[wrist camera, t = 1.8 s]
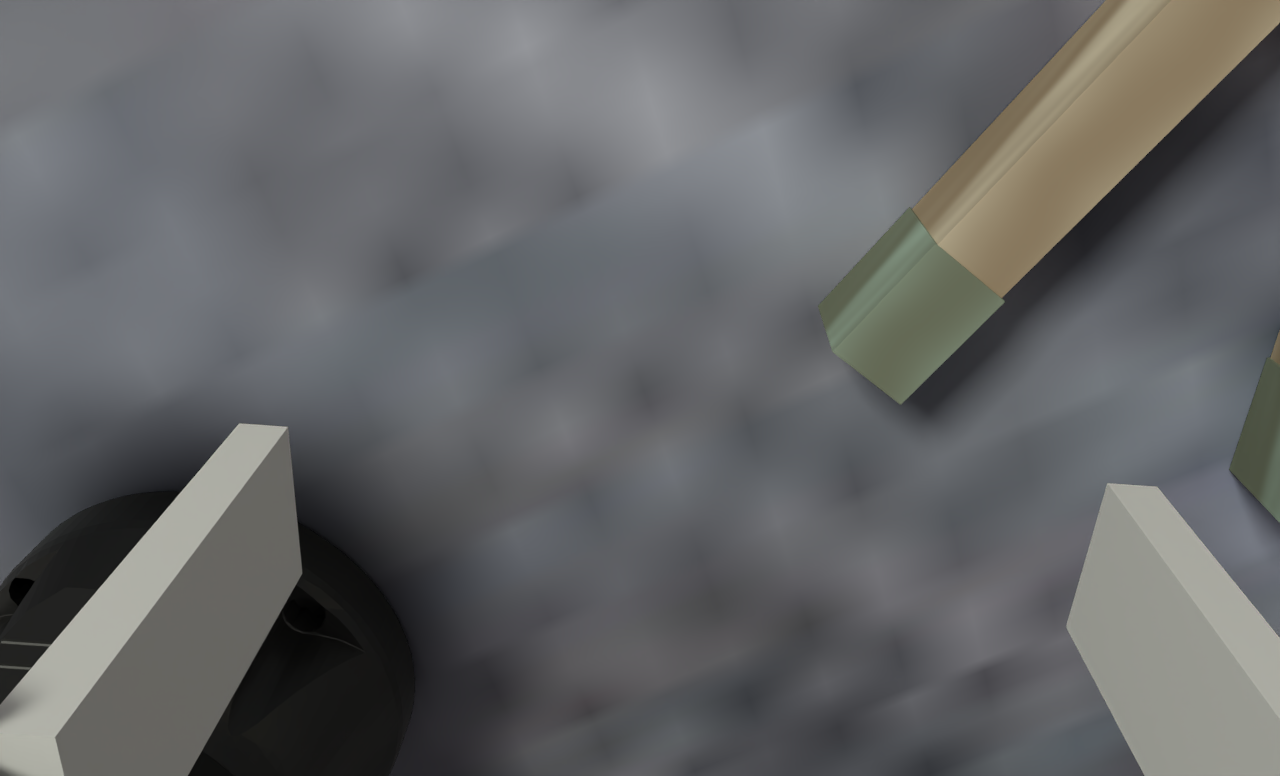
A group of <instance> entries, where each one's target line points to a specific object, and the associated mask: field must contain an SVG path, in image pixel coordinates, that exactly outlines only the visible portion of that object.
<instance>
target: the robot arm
mask: <svg viewBox="0 0 1280 776" xmlns="http://www.w3.org/2000/svg"><path fill="white" fill-rule="evenodd" d="M1066 628H1067V630H1068V632H1069V634H1070V636H1071V637H1072V639H1073V641H1074V643H1075V645H1076V647H1077V649H1078V651H1079V653H1080V654H1081V656H1082V658H1083V660H1084V662H1085V664H1086V666H1087V668H1088V670H1089V672H1090V673H1091V675H1092V677H1093V679H1094V681H1095V683H1096V685H1097V687H1098V689H1099V690H1100V692H1101V694H1102V696H1103V698H1104V700H1105V702H1106V704H1107V706H1108V707H1109V709H1110V711H1111V713H1112V715H1113V717H1114V719H1115V721H1116V723H1117V725H1118V726H1119V728H1120V730H1121V732H1122V734H1123V736H1124V738H1125V740H1126V742H1127V743H1128V745H1129V747H1130V749H1131V751H1132V753H1133V755H1134V757H1135V759H1136V760H1137V762H1138V764H1139V766H1140V768H1141V770H1142V772H1143V774H1144V776H1280V638H1279V637H1278V635H1277V634H1276V633H1275V632H1274V630H1273V629H1272V628H1271V627H1270V625H1269V624H1268V623H1267V622H1266V621H1265V619H1264V618H1263V617H1262V616H1261V614H1260V613H1259V612H1258V611H1257V609H1256V608H1255V607H1254V606H1253V604H1252V603H1251V602H1250V601H1249V600H1248V598H1247V597H1246V596H1245V595H1244V593H1243V592H1242V591H1241V590H1240V588H1239V587H1238V586H1237V585H1236V584H1235V582H1234V581H1233V580H1232V579H1231V577H1230V576H1229V575H1228V574H1227V572H1226V571H1225V570H1224V569H1223V567H1222V566H1221V565H1220V564H1219V563H1218V561H1217V560H1216V559H1215V558H1214V556H1213V555H1212V554H1211V553H1210V551H1209V550H1208V549H1207V548H1206V547H1205V545H1204V544H1203V543H1202V542H1201V540H1200V539H1199V538H1198V537H1197V535H1196V534H1195V533H1194V532H1193V530H1192V529H1191V528H1190V527H1189V526H1188V524H1187V523H1186V522H1185V521H1184V519H1183V518H1182V517H1181V516H1180V514H1179V513H1178V512H1177V511H1176V510H1175V508H1174V507H1173V506H1172V505H1171V503H1170V502H1169V501H1168V500H1167V498H1166V497H1165V496H1164V495H1163V493H1162V492H1161V491H1160V490H1159V489H1158V487H1153V486H1138V485H1124V484H1109V483H1107V487H1106V490H1105V493H1104V497H1103V500H1102V504H1101V507H1100V511H1099V514H1098V518H1097V521H1096V525H1095V528H1094V532H1093V535H1092V539H1091V542H1090V545H1089V549H1088V552H1087V556H1086V559H1085V563H1084V566H1083V570H1082V573H1081V577H1080V580H1079V584H1078V587H1077V591H1076V594H1075V597H1074V601H1073V604H1072V608H1071V611H1070V615H1069V618H1068V622H1067V625H1066ZM414 693H415V677H414V667H413V662H412V656H411V652H410V649H409V645H408V642H407V640H406V637H405V634H404V632H403V629H402V627H401V625H400V623H399V621H398V619H397V617H396V615H395V613H394V612H393V610H392V608H391V606H390V605H389V604H388V602H387V601H386V599H385V598H384V596H383V595H382V593H381V592H380V591H379V590H378V588H377V587H376V586H375V584H374V583H373V582H372V581H371V580H370V579H369V578H368V577H367V575H366V574H365V573H364V572H363V571H362V570H361V569H360V568H359V567H358V566H357V565H356V564H355V563H354V562H353V561H351V560H350V559H349V558H348V557H347V556H346V555H344V554H343V553H342V552H341V551H340V550H338V549H337V548H336V547H334V546H333V545H332V544H330V543H329V542H328V541H326V540H325V539H323V538H321V537H320V536H318V535H317V534H315V533H314V532H312V531H310V530H309V529H307V528H305V527H303V526H302V525H300V524H298V523H297V513H296V503H295V492H294V482H293V472H292V461H291V451H290V441H289V430H288V427H283V426H268V425H254V424H238V426H237V427H236V428H235V429H234V430H233V431H232V433H231V434H230V435H229V436H228V437H227V438H226V440H225V441H224V442H223V443H222V444H221V446H220V447H219V448H218V449H217V450H216V451H215V453H214V454H213V455H212V456H211V457H210V458H209V460H208V461H207V462H206V463H205V464H204V466H203V467H202V468H201V469H200V470H199V471H198V473H197V474H196V475H195V476H194V477H193V478H192V480H191V481H190V482H189V483H188V484H187V486H186V487H185V488H184V489H183V490H182V491H181V492H178V491H165V492H149V493H139V494H134V495H128V496H123V497H119V498H115V499H111V500H108V501H105V502H102V503H99V504H97V505H94V506H92V507H90V508H87V509H85V510H83V511H81V512H79V513H77V514H76V515H74V516H72V517H70V518H69V519H67V520H66V521H64V522H63V523H61V524H60V525H59V526H58V527H56V528H55V529H54V530H53V531H51V532H50V533H49V534H48V535H47V536H46V537H45V538H44V539H43V540H42V541H41V542H40V543H39V544H38V545H37V546H36V547H35V548H34V549H33V550H32V551H31V552H30V553H29V554H28V555H27V556H26V557H25V558H24V559H23V560H22V561H21V562H20V563H19V564H18V565H17V566H16V567H15V568H14V569H13V570H12V571H11V573H10V574H9V575H8V576H7V577H6V579H5V580H4V581H3V583H2V584H1V586H0V776H389V774H390V772H391V770H392V768H393V765H394V763H395V761H396V758H397V755H398V752H399V749H400V747H401V744H402V741H403V738H404V735H405V732H406V729H407V726H408V723H409V720H410V717H411V713H412V708H413V703H414Z"/></svg>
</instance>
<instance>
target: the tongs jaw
mask: <svg viewBox="0 0 1280 776" xmlns="http://www.w3.org/2000/svg"><path fill="white" fill-rule="evenodd" d="M1279 23H1280V0H1106V1H1105V2H1104V3H1103V4H1102V5H1101V6H1100V7H1099V9H1098V10H1097V11H1096V12H1095V13H1094V14H1093V15H1092V16H1091V17H1090V18H1089V19H1088V20H1087V21H1086V23H1085V24H1084V25H1083V26H1082V27H1081V28H1080V29H1079V30H1078V31H1077V32H1076V33H1075V34H1074V35H1073V37H1072V38H1071V39H1070V40H1069V41H1068V42H1067V43H1066V44H1065V45H1064V46H1063V47H1062V48H1061V49H1060V50H1059V52H1058V53H1057V54H1056V55H1055V56H1054V57H1053V58H1052V59H1051V60H1050V61H1049V62H1048V63H1047V64H1046V66H1045V67H1044V68H1043V69H1042V70H1041V71H1040V72H1039V73H1038V74H1037V75H1036V76H1035V77H1034V78H1033V80H1032V81H1031V82H1030V83H1029V84H1028V85H1027V86H1026V87H1025V88H1024V89H1023V90H1022V91H1021V92H1020V94H1019V95H1018V96H1017V97H1016V98H1015V99H1014V100H1013V101H1012V102H1011V103H1010V104H1009V105H1008V106H1007V108H1006V109H1005V110H1004V111H1003V112H1002V113H1001V114H1000V115H999V116H998V117H997V118H996V119H995V120H994V122H993V123H992V124H991V125H990V126H989V127H988V128H987V129H986V130H985V131H984V132H983V133H982V134H981V136H980V137H979V138H978V139H977V140H976V141H975V142H974V143H973V144H972V145H971V146H970V147H969V148H968V150H967V151H966V152H965V153H964V154H963V155H962V156H961V157H960V158H959V159H958V160H957V161H956V162H955V164H954V165H953V166H952V167H951V168H950V169H949V170H948V171H947V172H946V173H945V174H944V175H943V176H942V178H941V179H940V180H939V181H938V182H937V183H936V184H935V185H934V186H933V187H932V188H931V189H930V190H929V192H928V193H927V194H926V195H925V196H924V197H923V198H922V199H921V200H920V201H919V202H918V203H917V204H916V206H915V207H914V208H913V209H911V208H910V207H909V208H908V209H907V211H906V212H905V213H904V214H903V215H902V216H901V217H900V218H899V219H898V220H897V221H896V222H895V223H894V225H893V226H892V227H891V228H890V229H889V230H888V231H887V232H886V233H885V234H884V235H883V236H882V237H881V239H880V240H879V241H878V242H877V243H876V244H875V245H874V246H873V247H872V248H871V249H870V250H869V252H868V253H867V254H866V255H865V256H864V257H863V258H862V259H861V260H860V261H859V262H858V263H857V264H856V266H855V267H854V268H853V269H852V270H851V271H850V272H849V273H848V274H847V275H846V276H845V277H844V278H843V280H842V281H841V282H840V283H839V284H838V285H837V286H836V287H835V288H834V289H833V290H832V291H831V293H830V294H829V295H828V296H827V297H826V298H825V299H824V300H823V301H822V302H821V303H820V304H819V305H818V308H819V311H820V314H821V317H822V320H823V323H824V327H825V330H826V333H827V336H828V339H829V342H830V346H831V349H832V352H833V353H835V354H836V355H837V356H839V357H840V358H841V359H842V360H844V361H845V362H846V363H848V364H849V365H850V366H851V367H853V368H854V369H855V370H857V371H858V372H859V373H860V374H862V375H863V376H864V377H866V378H867V379H868V380H869V381H871V382H872V383H873V384H874V385H876V386H877V387H878V388H880V389H881V390H882V391H883V392H885V393H886V394H887V395H889V396H890V397H891V398H892V399H894V400H895V401H896V402H898V403H899V404H900V405H901V404H902V403H903V402H904V401H905V400H906V399H907V398H908V397H909V396H910V395H911V394H912V393H913V392H914V391H915V390H916V389H917V388H918V387H919V386H920V385H921V384H922V383H923V382H924V381H925V380H926V379H927V378H928V377H929V376H930V375H931V374H932V373H933V372H934V371H935V370H936V369H938V368H939V367H940V366H941V365H942V364H943V363H944V362H945V361H946V360H947V359H948V358H949V357H950V356H951V355H952V354H953V353H954V352H955V351H956V350H957V349H958V348H959V347H960V346H961V345H962V344H963V343H964V342H965V341H966V340H967V339H968V338H969V337H970V336H971V335H972V334H973V333H974V332H975V331H976V330H977V329H978V328H979V327H980V326H981V325H982V324H983V323H984V322H985V321H986V320H987V319H988V318H989V317H990V316H991V315H992V314H993V313H994V312H995V311H996V310H997V309H998V308H999V307H1000V306H1001V305H1002V304H1003V303H1004V302H1005V301H1004V300H1003V298H1002V297H1003V296H1004V295H1005V294H1006V293H1007V292H1008V291H1009V290H1010V289H1011V288H1012V287H1013V286H1014V285H1015V284H1016V283H1017V282H1018V281H1019V280H1020V279H1021V278H1023V277H1024V276H1025V275H1026V274H1027V273H1028V272H1029V271H1030V270H1031V269H1032V268H1033V267H1034V266H1035V265H1036V264H1037V263H1038V262H1039V261H1040V260H1041V259H1042V258H1043V257H1044V256H1045V255H1046V254H1047V253H1048V252H1049V251H1050V250H1051V249H1052V248H1053V247H1054V246H1055V245H1056V244H1057V243H1058V242H1059V241H1060V240H1061V239H1062V238H1063V237H1064V236H1065V235H1066V234H1067V233H1068V232H1069V231H1070V230H1071V229H1072V228H1073V227H1074V226H1075V225H1076V224H1077V223H1078V222H1079V221H1080V220H1081V219H1082V218H1083V217H1084V216H1085V215H1086V214H1087V213H1088V212H1089V211H1090V210H1091V209H1092V208H1093V207H1094V206H1095V205H1096V204H1097V203H1098V202H1099V201H1100V200H1101V199H1102V198H1103V197H1104V196H1105V195H1106V194H1107V193H1108V192H1109V191H1110V190H1111V189H1112V188H1113V187H1114V186H1115V185H1116V184H1117V183H1118V182H1119V181H1120V180H1121V179H1122V178H1124V177H1125V176H1126V175H1127V174H1128V173H1129V172H1130V171H1131V170H1132V169H1133V168H1134V167H1135V166H1136V165H1137V164H1138V163H1139V162H1140V161H1141V160H1142V159H1143V158H1144V157H1145V156H1146V155H1147V154H1148V153H1149V152H1150V151H1151V150H1152V149H1153V148H1154V147H1155V146H1156V145H1157V144H1158V143H1159V142H1160V141H1161V140H1162V139H1163V138H1164V137H1165V136H1166V135H1167V134H1168V133H1169V132H1170V131H1171V130H1172V129H1173V128H1174V127H1175V126H1176V125H1177V124H1178V123H1179V122H1180V121H1181V120H1182V119H1183V118H1184V117H1185V116H1186V115H1187V114H1188V113H1189V112H1190V111H1191V110H1192V109H1193V108H1194V107H1195V106H1196V105H1197V104H1198V103H1199V102H1200V101H1201V100H1202V99H1203V98H1204V97H1205V96H1206V95H1207V94H1208V93H1209V92H1210V91H1211V90H1212V89H1213V88H1214V87H1215V86H1216V85H1217V84H1218V83H1219V82H1220V81H1221V80H1222V79H1223V78H1224V77H1226V76H1227V75H1228V74H1229V73H1230V72H1231V71H1232V70H1233V69H1234V68H1235V67H1236V66H1237V65H1238V64H1239V63H1240V62H1241V61H1242V60H1243V59H1244V58H1245V57H1246V56H1247V55H1248V54H1249V53H1250V52H1251V51H1252V50H1253V49H1254V48H1255V47H1256V46H1257V45H1258V44H1259V43H1260V42H1261V41H1262V40H1263V39H1264V38H1265V37H1266V36H1267V35H1268V34H1269V33H1270V32H1271V31H1272V30H1273V29H1274V28H1275V27H1276V26H1277V25H1278V24H1279Z"/></svg>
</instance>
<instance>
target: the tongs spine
mask: <svg viewBox="0 0 1280 776" xmlns="http://www.w3.org/2000/svg"><path fill="white" fill-rule="evenodd" d="M1229 470H1230V471H1231V472H1232V473H1233V474H1234V475H1235V476H1236V477H1237V478H1238V480H1239V481H1240V482H1241V483H1242V484H1243V485H1244V486H1245V487H1246V488H1247V489H1248V490H1249V491H1250V492H1251V493H1252V494H1253V495H1254V496H1255V497H1256V499H1257V500H1258V501H1259V502H1260V503H1261V504H1262V505H1263V506H1264V507H1265V508H1266V509H1267V510H1268V511H1269V512H1270V513H1271V514H1272V515H1273V516H1274V518H1275V519H1276V520H1277V521H1278V522H1279V523H1280V331H1279V334H1278V337H1277V340H1276V343H1275V346H1274V349H1273V351H1272V354H1271V357H1270V358H1267V359H1266V362H1265V365H1264V368H1263V371H1262V374H1261V377H1260V380H1259V383H1258V386H1257V389H1256V392H1255V395H1254V398H1253V401H1252V404H1251V407H1250V410H1249V413H1248V415H1247V418H1246V421H1245V424H1244V427H1243V430H1242V433H1241V436H1240V439H1239V442H1238V445H1237V448H1236V451H1235V454H1234V457H1233V460H1232V463H1231V466H1230V469H1229Z"/></svg>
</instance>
